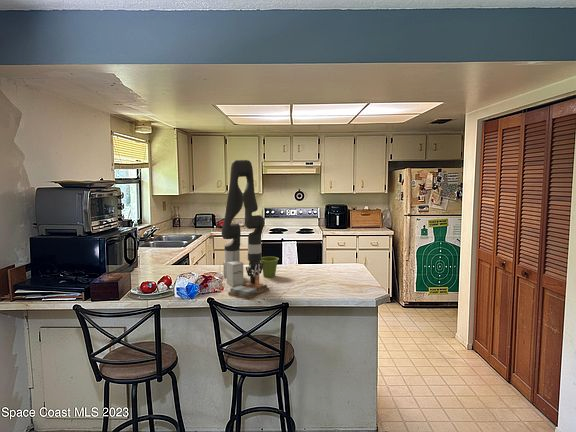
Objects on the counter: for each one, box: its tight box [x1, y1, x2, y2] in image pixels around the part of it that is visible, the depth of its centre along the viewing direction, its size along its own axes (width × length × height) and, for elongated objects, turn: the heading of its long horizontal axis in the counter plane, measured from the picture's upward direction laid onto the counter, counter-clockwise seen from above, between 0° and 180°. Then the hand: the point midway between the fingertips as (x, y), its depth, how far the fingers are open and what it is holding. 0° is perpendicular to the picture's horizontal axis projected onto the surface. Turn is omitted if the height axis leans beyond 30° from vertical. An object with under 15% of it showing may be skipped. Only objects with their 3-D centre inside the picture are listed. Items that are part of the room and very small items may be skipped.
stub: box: [245, 274, 264, 289], centre depth 220 cm, size 9×4×7 cm, turn 59°
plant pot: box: [260, 256, 280, 278], centre depth 249 cm, size 12×12×11 cm
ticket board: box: [227, 283, 270, 300], centre depth 216 cm, size 14×18×4 cm
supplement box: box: [226, 261, 244, 287], centre depth 232 cm, size 7×7×13 cm
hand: (254, 282), depth 220 cm, fingers closed on stub, 3 cm apart
